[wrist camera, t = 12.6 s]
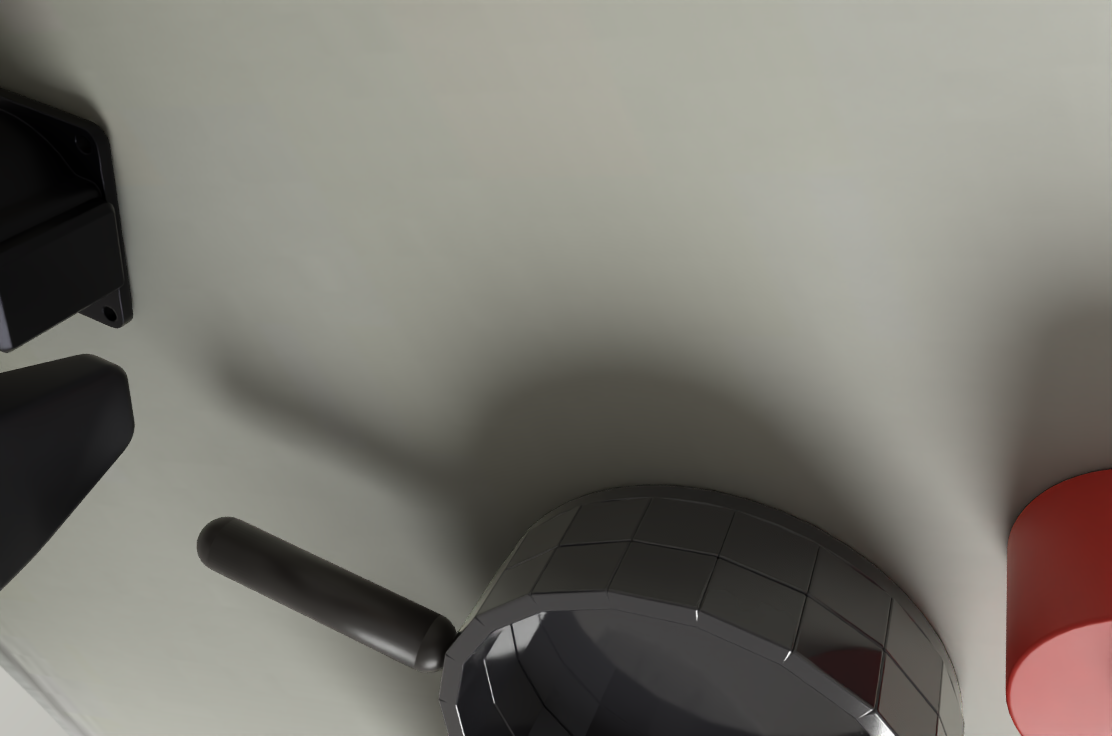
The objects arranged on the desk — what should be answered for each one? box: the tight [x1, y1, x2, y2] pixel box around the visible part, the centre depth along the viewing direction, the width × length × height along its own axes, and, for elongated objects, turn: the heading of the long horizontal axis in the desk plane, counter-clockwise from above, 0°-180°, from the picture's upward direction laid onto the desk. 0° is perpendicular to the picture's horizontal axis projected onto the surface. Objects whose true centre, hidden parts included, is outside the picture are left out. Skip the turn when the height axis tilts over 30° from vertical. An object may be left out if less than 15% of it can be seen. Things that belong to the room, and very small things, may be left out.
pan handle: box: [197, 517, 457, 673], centre depth 26 cm, size 8×2×2 cm, turn 80°
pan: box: [439, 485, 964, 736], centre depth 25 cm, size 13×13×4 cm
